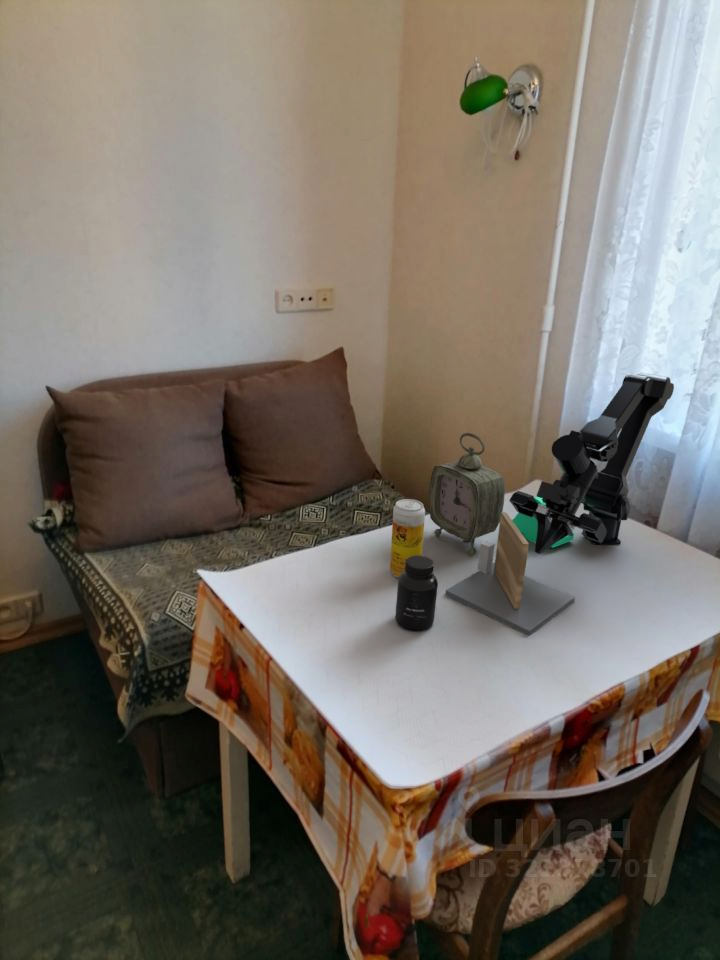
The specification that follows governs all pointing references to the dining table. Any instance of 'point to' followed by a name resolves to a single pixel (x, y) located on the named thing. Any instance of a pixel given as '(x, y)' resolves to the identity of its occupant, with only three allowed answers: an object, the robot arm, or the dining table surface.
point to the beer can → (406, 533)
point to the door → (511, 559)
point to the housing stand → (492, 600)
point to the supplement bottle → (416, 595)
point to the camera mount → (534, 527)
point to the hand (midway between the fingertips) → (537, 553)
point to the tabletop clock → (466, 496)
